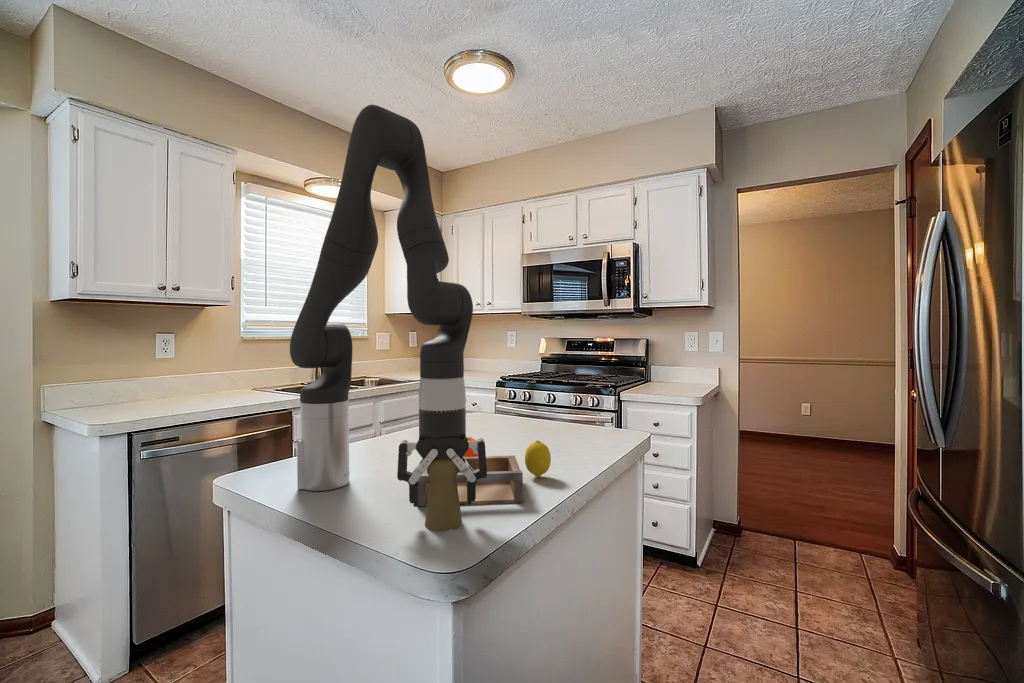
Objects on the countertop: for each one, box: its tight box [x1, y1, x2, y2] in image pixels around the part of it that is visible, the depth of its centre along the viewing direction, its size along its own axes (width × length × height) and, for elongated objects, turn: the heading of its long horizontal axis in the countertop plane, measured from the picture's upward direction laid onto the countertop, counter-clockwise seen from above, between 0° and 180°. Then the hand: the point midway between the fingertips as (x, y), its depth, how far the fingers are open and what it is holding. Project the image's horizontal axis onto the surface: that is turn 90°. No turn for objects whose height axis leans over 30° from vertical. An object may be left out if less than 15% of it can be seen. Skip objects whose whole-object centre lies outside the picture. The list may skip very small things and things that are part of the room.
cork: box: [424, 459, 463, 532], centre depth 78 cm, size 6×6×11 cm
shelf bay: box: [418, 455, 524, 507], centre depth 94 cm, size 19×14×6 cm
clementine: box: [463, 436, 478, 457], centre depth 112 cm, size 8×7×7 cm
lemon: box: [524, 439, 552, 478], centre depth 103 cm, size 6×6×8 cm
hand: (443, 504), depth 78 cm, fingers open, 8 cm apart
